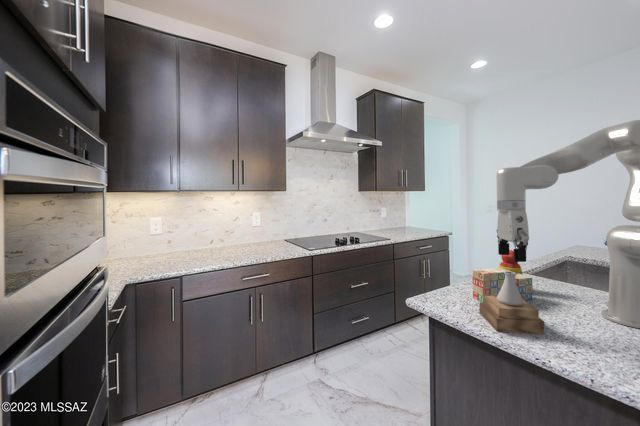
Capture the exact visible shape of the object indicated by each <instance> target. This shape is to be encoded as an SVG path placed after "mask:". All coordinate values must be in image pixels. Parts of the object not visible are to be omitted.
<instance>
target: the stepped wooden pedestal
mask: <svg viewBox="0 0 640 426" xmlns="http://www.w3.org/2000/svg"><path fill="white" fill-rule="evenodd" d="M496 298H497V296H486V295H484V303H482V302H480V301H479V309H478V310H479V311H478V312H479V315H480V316H481V317H482V318H483V319H484V320H485V321H486V322H487V323H488V324H489V325H490V326H491V327H492V328H493V329H494V330H495V331H496V332H503V333H504V332H505V333H519V334H532V335H534V334H536V335H545V321H544V320H543V319H542V318H540V315H539V314H540V310H539V309H538V308H536V307H534V305H531V304H530V303H529V302H527V300H523V299H522V300H523V302H524V305H520V306H513V305H506V304H504V303H501V302H499V301H498V300H497V299H496Z"/></svg>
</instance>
